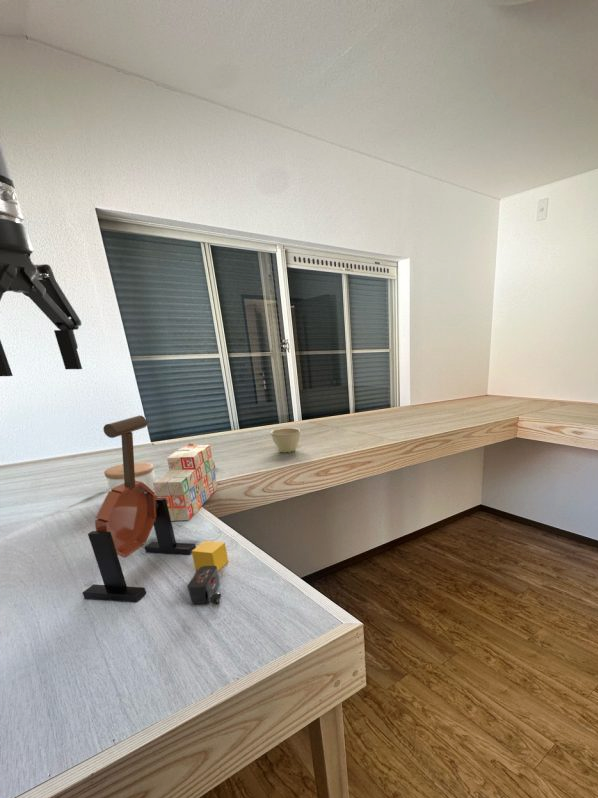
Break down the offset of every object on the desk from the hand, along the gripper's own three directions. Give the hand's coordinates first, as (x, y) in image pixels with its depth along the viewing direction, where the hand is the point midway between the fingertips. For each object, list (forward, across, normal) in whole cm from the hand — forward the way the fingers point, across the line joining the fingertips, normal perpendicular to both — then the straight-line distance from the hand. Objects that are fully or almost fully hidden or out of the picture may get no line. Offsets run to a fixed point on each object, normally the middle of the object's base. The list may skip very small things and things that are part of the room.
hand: (41, 372), depth 69 cm
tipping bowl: (+17, -8, -16) cm, 24 cm away
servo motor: (+33, -14, -31) cm, 47 cm away
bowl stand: (+33, -8, -16) cm, 37 cm away
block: (+31, -5, -29) cm, 43 cm away
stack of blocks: (+33, +23, -7) cm, 41 cm away
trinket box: (+33, +26, +10) cm, 43 cm away
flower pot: (+33, +74, -14) cm, 82 cm away
